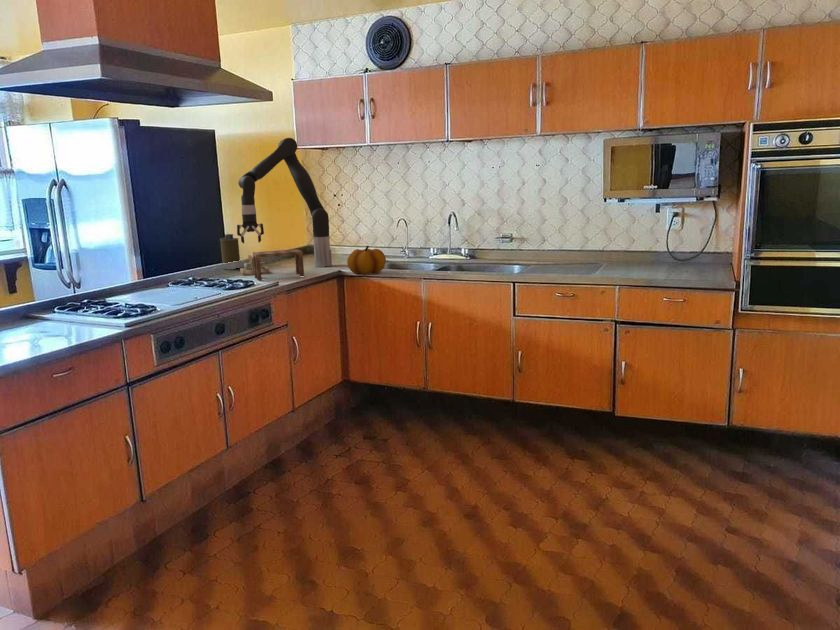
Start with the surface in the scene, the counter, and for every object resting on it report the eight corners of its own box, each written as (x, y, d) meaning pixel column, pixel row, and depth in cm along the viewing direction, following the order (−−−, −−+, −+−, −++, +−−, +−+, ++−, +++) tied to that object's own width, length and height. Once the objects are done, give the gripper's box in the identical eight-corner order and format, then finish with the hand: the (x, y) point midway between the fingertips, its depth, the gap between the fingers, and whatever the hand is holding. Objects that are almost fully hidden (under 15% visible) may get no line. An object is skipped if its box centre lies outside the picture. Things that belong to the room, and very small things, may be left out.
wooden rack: (299, 273, 358) (298, 249, 355) (304, 276, 347) (302, 251, 344) (254, 277, 349) (252, 252, 347) (257, 280, 338) (255, 254, 336)
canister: (244, 267, 389) (241, 233, 385) (234, 270, 379) (231, 235, 375) (228, 267, 393) (225, 233, 388) (218, 269, 383) (215, 235, 379)
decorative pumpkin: (387, 269, 364) (386, 242, 361) (384, 276, 342) (383, 247, 339) (350, 270, 364) (349, 243, 361) (345, 277, 343) (344, 248, 340)
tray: (263, 268, 384) (262, 254, 382) (268, 273, 363) (267, 259, 361) (238, 270, 379) (237, 256, 377) (242, 275, 358) (241, 260, 356)
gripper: (261, 212, 367) (263, 241, 371) (235, 213, 362) (237, 243, 366) (263, 213, 360) (265, 242, 364) (236, 214, 356) (238, 244, 359)
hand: (251, 242), depth 365 cm, fingers open, 8 cm apart
